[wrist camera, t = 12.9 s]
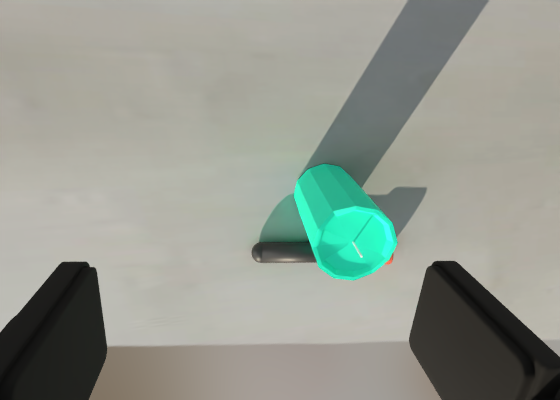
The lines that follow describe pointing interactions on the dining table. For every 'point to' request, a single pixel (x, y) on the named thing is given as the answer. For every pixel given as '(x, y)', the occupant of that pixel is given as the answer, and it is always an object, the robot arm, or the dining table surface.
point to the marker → (286, 252)
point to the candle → (343, 223)
